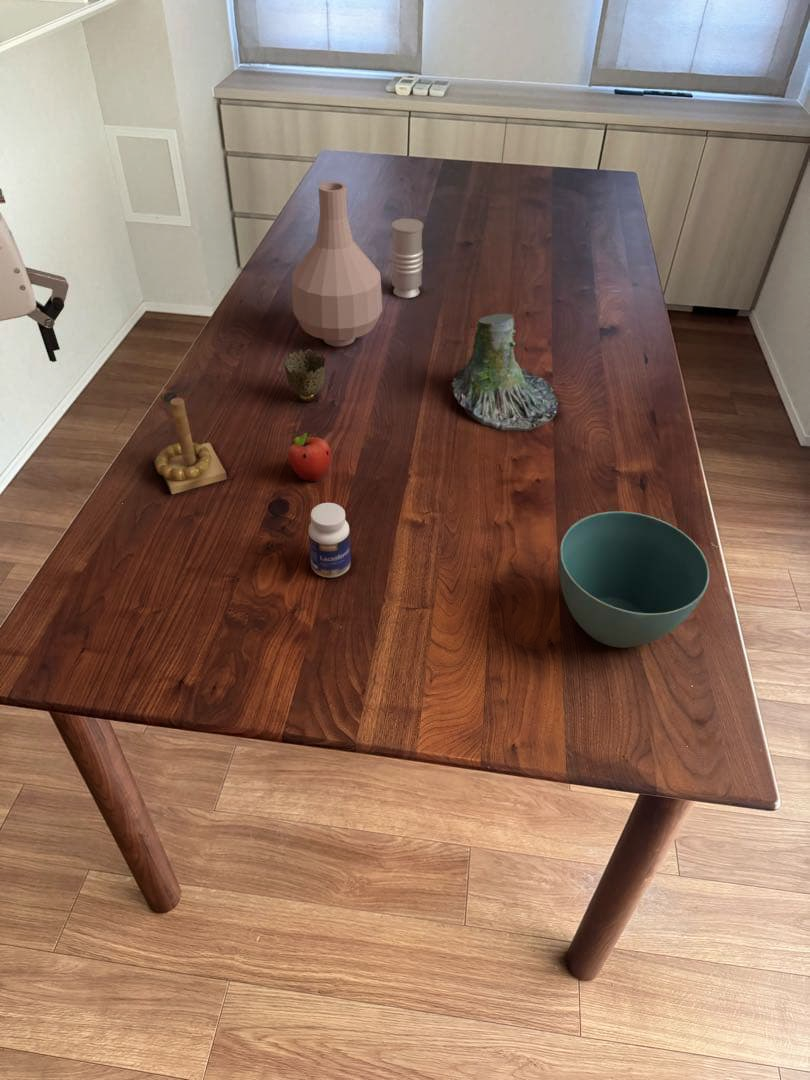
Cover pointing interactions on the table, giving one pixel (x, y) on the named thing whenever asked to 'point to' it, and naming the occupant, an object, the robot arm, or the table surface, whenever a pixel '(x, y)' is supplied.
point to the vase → (336, 278)
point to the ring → (186, 472)
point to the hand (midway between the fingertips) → (6, 365)
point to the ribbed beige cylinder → (407, 257)
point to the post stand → (190, 455)
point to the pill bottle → (329, 540)
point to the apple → (309, 457)
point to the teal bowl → (630, 577)
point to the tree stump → (502, 381)
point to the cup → (305, 374)
